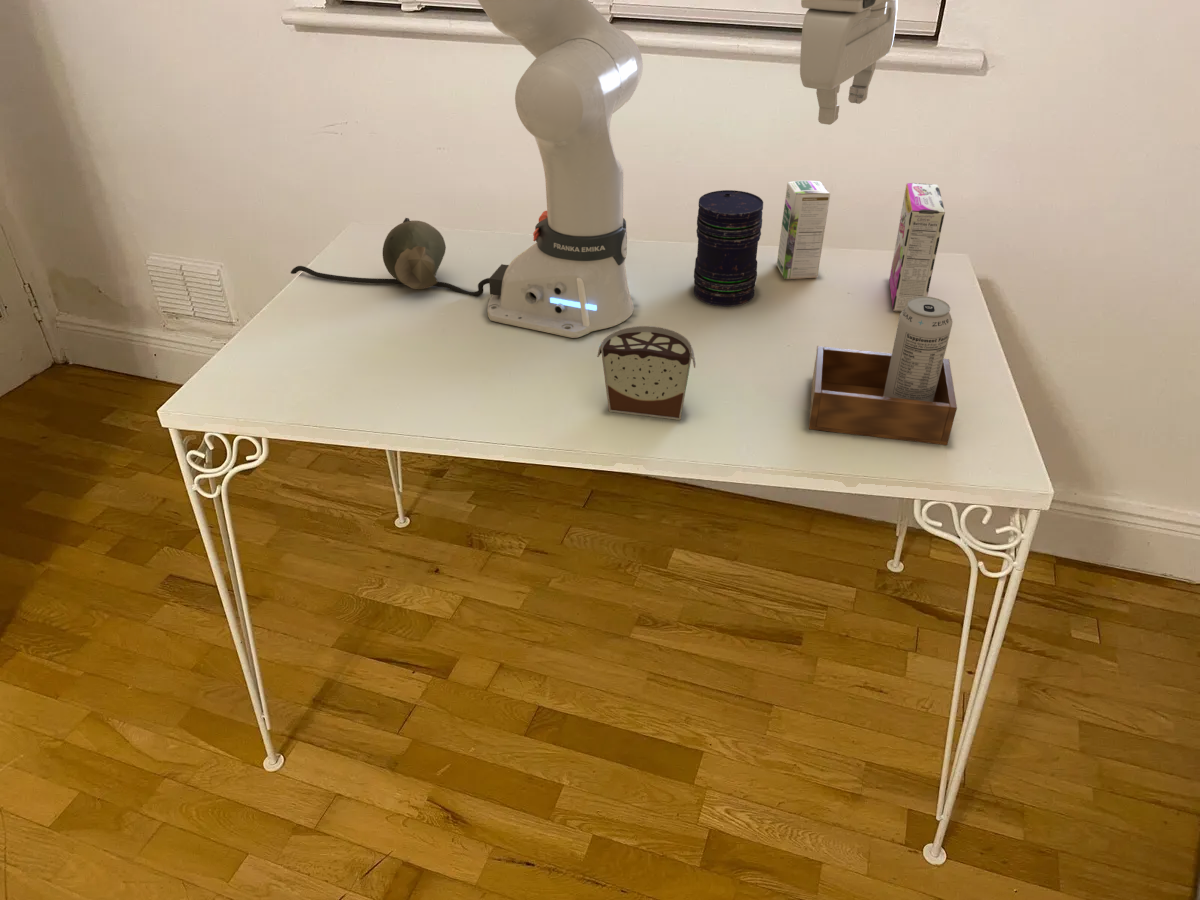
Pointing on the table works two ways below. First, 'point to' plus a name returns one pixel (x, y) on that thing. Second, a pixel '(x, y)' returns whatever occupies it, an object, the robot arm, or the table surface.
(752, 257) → the blue barrel
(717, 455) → the table surface
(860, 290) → the table surface
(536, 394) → the table surface
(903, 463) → the table surface
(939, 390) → the wooden tray
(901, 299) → the candy bar box
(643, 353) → the food container
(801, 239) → the syrup box
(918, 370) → the energy drink can
